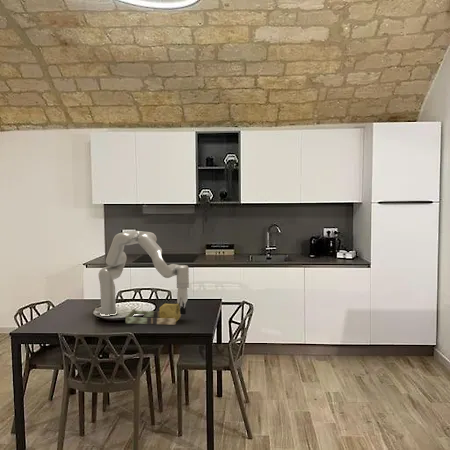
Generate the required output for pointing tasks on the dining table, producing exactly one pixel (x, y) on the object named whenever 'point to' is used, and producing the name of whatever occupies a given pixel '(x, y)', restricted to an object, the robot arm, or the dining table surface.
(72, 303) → the dining table surface
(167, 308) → the cheese
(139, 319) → the track
